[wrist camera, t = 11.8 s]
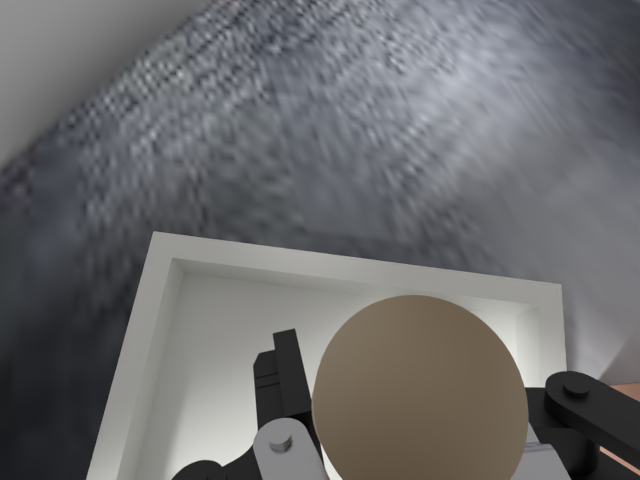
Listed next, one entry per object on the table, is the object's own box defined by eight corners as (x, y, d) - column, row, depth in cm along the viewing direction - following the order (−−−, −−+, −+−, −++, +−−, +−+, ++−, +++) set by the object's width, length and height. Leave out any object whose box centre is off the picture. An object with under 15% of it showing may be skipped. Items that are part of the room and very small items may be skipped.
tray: (99, 544, 21) (62, 567, 18) (172, 254, 26) (153, 231, 23) (539, 604, 21) (583, 640, 18) (529, 300, 26) (561, 284, 23)
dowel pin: (304, 446, 20) (299, 505, 6) (314, 367, 21) (327, 282, 8) (381, 456, 19) (532, 538, 6) (386, 377, 21) (525, 308, 8)
